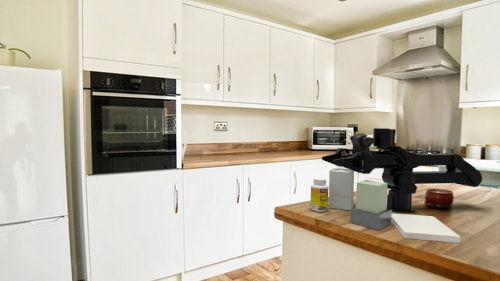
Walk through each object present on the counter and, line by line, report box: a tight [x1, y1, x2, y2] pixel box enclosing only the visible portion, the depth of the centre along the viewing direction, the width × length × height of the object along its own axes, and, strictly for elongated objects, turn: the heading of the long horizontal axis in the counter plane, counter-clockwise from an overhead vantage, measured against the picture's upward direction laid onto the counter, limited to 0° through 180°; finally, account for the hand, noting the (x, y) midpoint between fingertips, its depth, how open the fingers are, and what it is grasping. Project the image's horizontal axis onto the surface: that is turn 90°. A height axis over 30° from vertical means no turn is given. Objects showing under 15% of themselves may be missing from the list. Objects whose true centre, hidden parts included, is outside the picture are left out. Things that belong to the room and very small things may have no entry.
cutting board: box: [391, 212, 461, 244], centre depth 77 cm, size 16×12×2 cm
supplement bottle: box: [310, 177, 329, 213], centre depth 94 cm, size 6×6×10 cm
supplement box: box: [328, 167, 355, 211], centre depth 98 cm, size 7×7×13 cm
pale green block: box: [355, 179, 388, 214], centre depth 81 cm, size 6×6×8 cm
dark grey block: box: [350, 206, 393, 231], centre depth 81 cm, size 8×8×6 cm
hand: (327, 159), depth 92 cm, fingers open, 9 cm apart
